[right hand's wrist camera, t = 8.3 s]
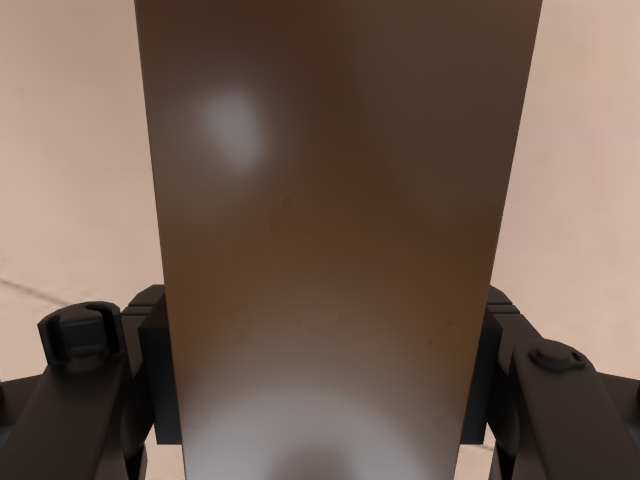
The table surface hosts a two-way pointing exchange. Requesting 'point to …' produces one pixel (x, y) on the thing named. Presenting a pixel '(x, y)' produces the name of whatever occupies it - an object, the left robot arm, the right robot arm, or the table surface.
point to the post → (329, 223)
